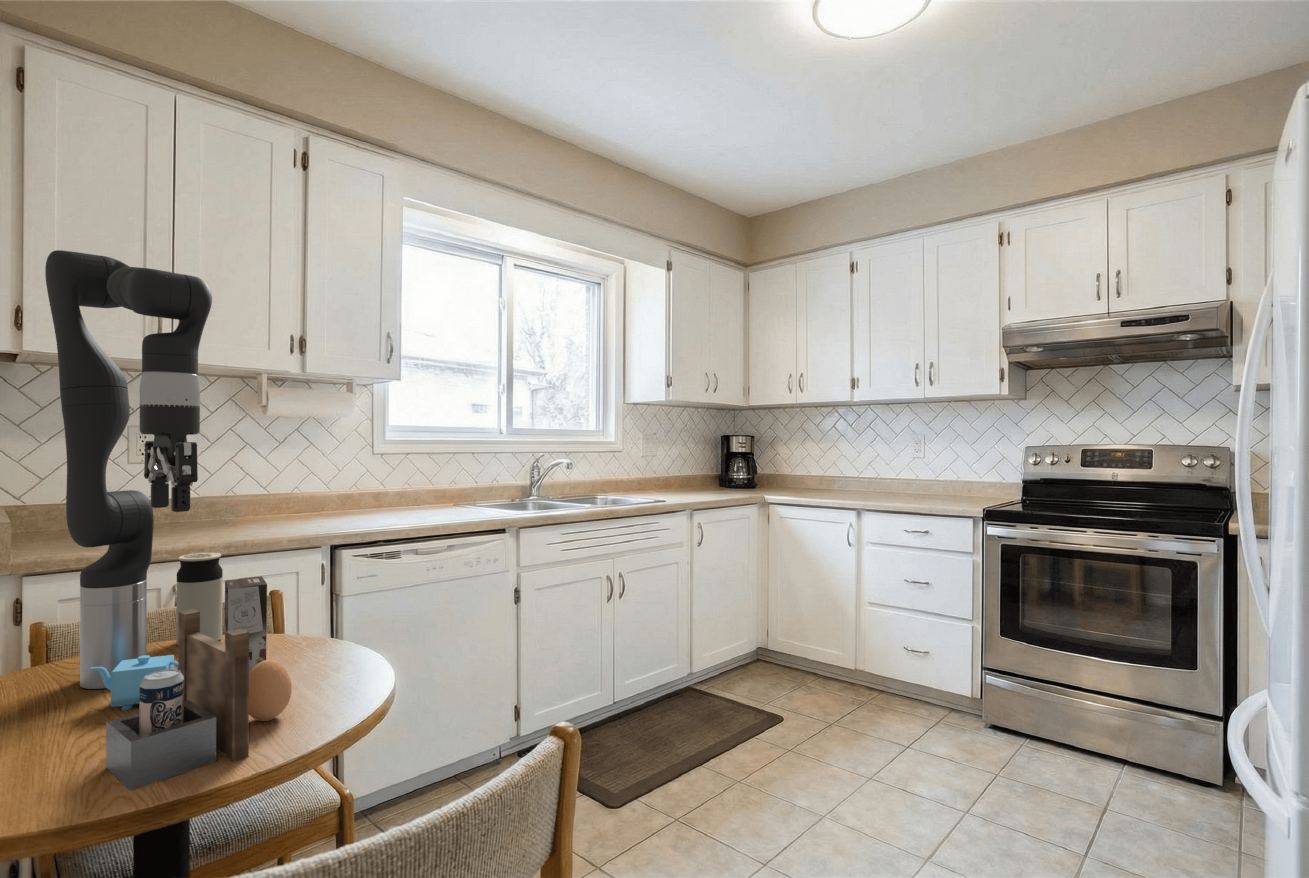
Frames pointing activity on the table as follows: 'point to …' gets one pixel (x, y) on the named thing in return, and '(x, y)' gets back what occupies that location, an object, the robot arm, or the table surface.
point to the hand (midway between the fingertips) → (169, 509)
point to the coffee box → (248, 613)
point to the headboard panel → (217, 680)
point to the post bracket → (160, 747)
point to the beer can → (161, 701)
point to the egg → (268, 690)
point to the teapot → (132, 678)
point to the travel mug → (201, 591)
